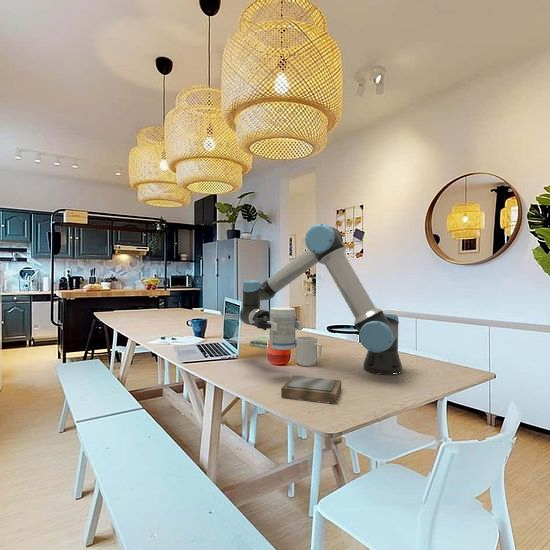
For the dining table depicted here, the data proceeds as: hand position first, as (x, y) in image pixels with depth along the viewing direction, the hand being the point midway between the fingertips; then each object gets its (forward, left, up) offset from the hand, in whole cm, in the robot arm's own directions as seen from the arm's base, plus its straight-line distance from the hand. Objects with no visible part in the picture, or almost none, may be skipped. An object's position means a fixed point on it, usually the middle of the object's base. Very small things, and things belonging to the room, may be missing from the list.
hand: (288, 326), depth 133 cm
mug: (-3, -26, -20) cm, 33 cm away
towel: (+22, -60, -20) cm, 68 cm away
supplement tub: (+3, -3, -9) cm, 10 cm away
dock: (-11, +10, -20) cm, 25 cm away
